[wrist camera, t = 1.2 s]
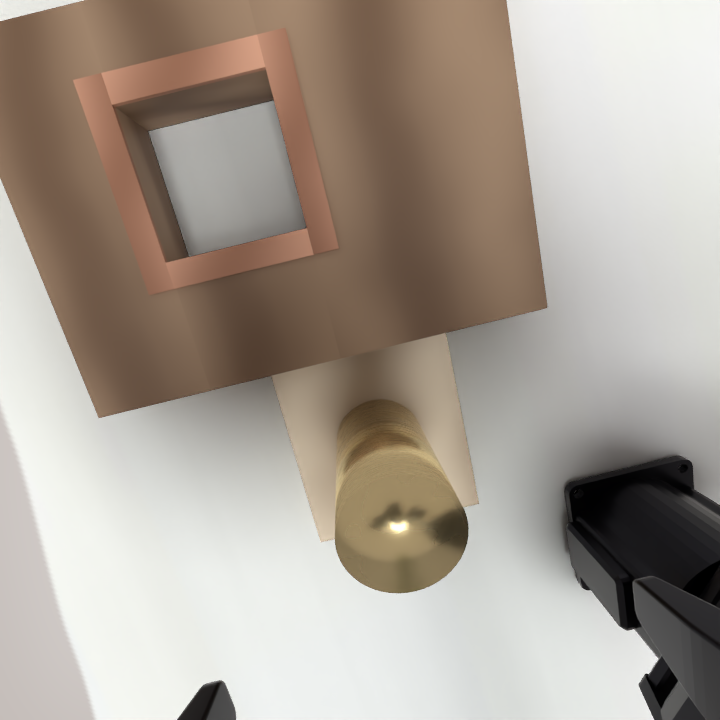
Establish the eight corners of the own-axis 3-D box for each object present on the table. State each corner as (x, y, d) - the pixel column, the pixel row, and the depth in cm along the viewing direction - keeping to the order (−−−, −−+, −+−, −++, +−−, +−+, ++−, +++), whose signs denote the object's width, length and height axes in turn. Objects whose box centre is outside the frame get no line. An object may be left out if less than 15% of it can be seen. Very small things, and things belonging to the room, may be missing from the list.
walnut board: (469, -44, 16) (494, -106, 13) (545, 472, 21) (575, 501, 18) (2, 71, 16) (-64, 32, 13) (191, 559, 21) (170, 600, 18)
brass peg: (412, 390, 18) (455, 460, 12) (429, 468, 19) (478, 575, 12) (327, 411, 18) (319, 492, 12) (348, 488, 19) (352, 606, 12)
